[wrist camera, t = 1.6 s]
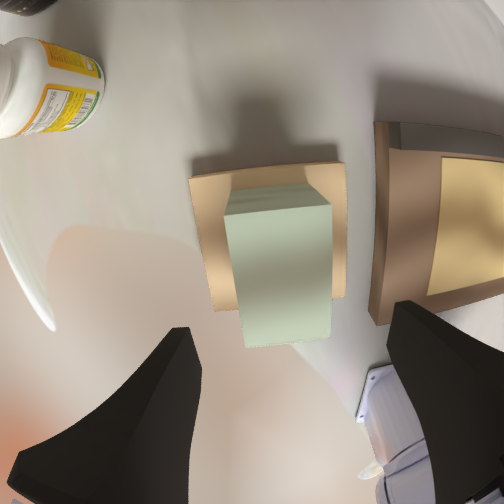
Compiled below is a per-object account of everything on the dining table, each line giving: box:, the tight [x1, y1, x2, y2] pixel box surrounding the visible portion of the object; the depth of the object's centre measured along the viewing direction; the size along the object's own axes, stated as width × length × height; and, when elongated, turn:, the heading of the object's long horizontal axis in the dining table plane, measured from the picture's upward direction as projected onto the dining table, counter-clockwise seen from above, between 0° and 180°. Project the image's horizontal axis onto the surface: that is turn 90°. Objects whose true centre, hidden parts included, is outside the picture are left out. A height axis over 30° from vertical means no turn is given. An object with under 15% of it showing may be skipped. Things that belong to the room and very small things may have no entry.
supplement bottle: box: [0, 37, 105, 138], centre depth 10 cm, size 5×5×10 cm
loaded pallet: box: [189, 161, 347, 348], centre depth 16 cm, size 9×9×6 cm
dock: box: [368, 122, 504, 326], centre depth 16 cm, size 14×18×4 cm
